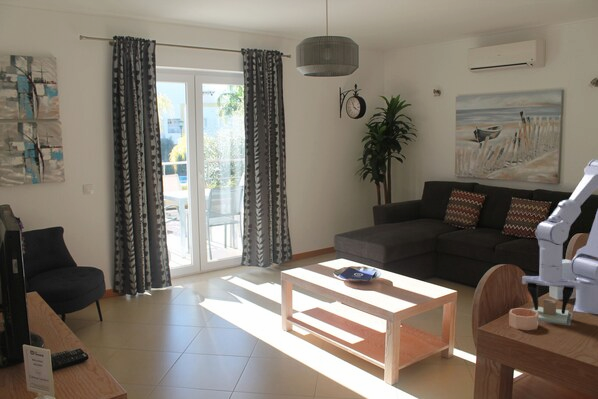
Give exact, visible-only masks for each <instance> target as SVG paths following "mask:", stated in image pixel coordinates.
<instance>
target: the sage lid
mask: <svg viewBox="0 0 598 399" xmlns="http://www.w3.org/2000/svg"><path fill="white" fill-rule="evenodd" d="M533 308H534V307H533ZM533 310H534V311H536V312H538V320H542V321H549V322H557V323H564V324H566V323H567V318H568V314H569V312H570V311H569V310H567V309H565V314H562V309H559V308H557V300H556V299H552V298H551V299H550V298H544V300H543V306H538V310H535V308H534V309H533Z"/></svg>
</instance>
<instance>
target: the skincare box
mask: <svg viewBox="0 0 598 399" xmlns="http://www.w3.org/2000/svg"><path fill="white" fill-rule="evenodd" d="M571 261H572V260H571V259H566V258H565V259H562V278H563V279H568V280H573V281H576V280H575V278H574V274H573V273H572V272H571V269H570V264H571ZM548 287H549V288H548V290H549V292H548V293H549V298H550V297H551V299H552V298H553V300H556V301H563V287H553V286H548ZM575 294H576V290H575V289H574V290H573V293H572V295H571V297H570V298H569V300H571V299H575Z"/></svg>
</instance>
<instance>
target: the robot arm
mask: <svg viewBox="0 0 598 399" xmlns="http://www.w3.org/2000/svg"><path fill="white" fill-rule="evenodd" d="M583 175H584V176H583V177H582V179H581V180H580V181H579V183H578V185H577V186H576V188H575V189H574V190H573V191H572V194H571V195H570V197H569V198H568V199H564V200H561V201H559V203H558V204H557V207H556V208H554V210H553V212H552V213H551V214H550V216H548V218H547V219H546V220H544V221H541V222H540V223H539V224H538V225H537V227H536V230H535V231H534V236H535V237H536V239H537V242H538V243H537V244H538V246H539V270H538V271H539V273H538V274H539V275H535V276H534V275H532V276H531V275H523V276H522V277H521V285H527V287H526V288H527V291H528V293H529V295H530V296H531V299H532V303H533V306H534V307H533V308H535V310H538V307H539V286H544V287H545V286H547V287H549V286H553V287H563V300H562V304H561V305H562V306H561V310H562V314H565V310H566V307H567V304H568V302H569V300H570V299H569V298H570V297H571V295H572V293H573V290H574V289H575V301H574V305H573V312H577V313H578V312H579V313H586V314H592V315H593V314H594V315H598V209H596V210H597V211H596V214H595V218H594V220H593V223H592V226H591V230H590V232H589V236H588V238H587V242H586V245H584V246H582V247H581V248H579V249H577V250H576V253H575V255H574V257H573V258H572V259H571V260H570V261H571V264H570V269H571V272H572V273H573V274H574V278H575V279H576V280H575V281H573V280H568V279H563V278H562V260H563V248H564V246H563V244H564V243H565V242H566V241H567V240H568V238H569V233H570V230H571V226H572V224H573V223H574V222H575V221H576V220H577V218H578V217H579V216H580V214H581V213H582V210H581V206H582V205H583V204H584V203H585V202H586V200H587V199H588V198H589V197H590V196H591V195H592V194H593V193H594V192H595V191H596V190H597V189H598V158H593V159H591V160H590V161H589V162H588V163H587V165H586V167H584V168H583Z"/></svg>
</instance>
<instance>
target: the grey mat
mask: <svg viewBox="0 0 598 399" xmlns="http://www.w3.org/2000/svg"><path fill="white" fill-rule="evenodd" d="M530 309H532V310H533V309H534V307H530ZM573 314H574V313H573V312H570V311H569V314H568V318H567V323H566V324H564V323H557V322H549V321H542V320H538V323H539V322H541V323H547V324H554V325H555V324H556V325H563V326H569V327H570V326H571V323H572V318H573Z"/></svg>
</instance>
